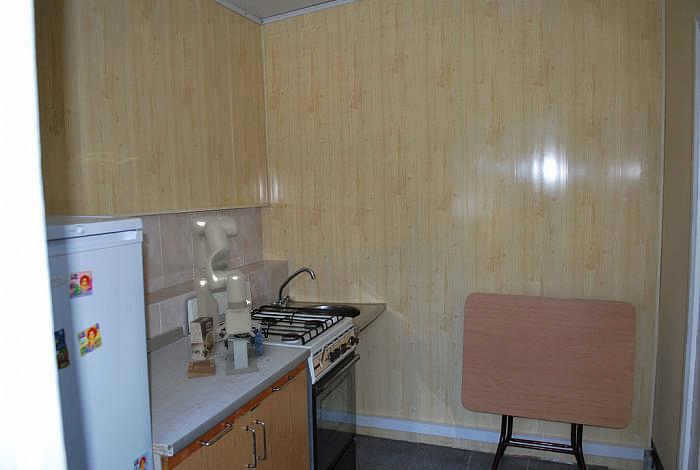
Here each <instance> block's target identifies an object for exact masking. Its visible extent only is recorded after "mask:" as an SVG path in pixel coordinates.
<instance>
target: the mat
mask: <svg viewBox="0 0 700 470" xmlns="http://www.w3.org/2000/svg"><path fill="white" fill-rule="evenodd" d="M256 372H259V369H258V363H257V358H256V357H255V358H249V359H248V368H241V369H235V361H234V360H233V361H226V362H225V376H226V377H227V376H235V375H243V374H248V373H256Z"/></svg>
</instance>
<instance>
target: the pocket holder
mask: <svg viewBox="0 0 700 470" xmlns="http://www.w3.org/2000/svg"><path fill="white" fill-rule="evenodd" d="M215 361H216V359H215V358H213V359H206V360H195V361H189V363H188V367H187V379H188V380H189V379H196V378H202V377H204V378H205V377H210V376H215V375H216V374H215V373H216V362H215Z"/></svg>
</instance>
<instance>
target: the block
mask: <svg viewBox="0 0 700 470" xmlns="http://www.w3.org/2000/svg"><path fill="white" fill-rule="evenodd" d="M232 341H233V359H234V360H233V361H235V369H241V368H248V346H247V345H248V344H247V339H246V338H244V339H243V338H242V339H234V340H232Z"/></svg>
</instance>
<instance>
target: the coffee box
mask: <svg viewBox="0 0 700 470" xmlns="http://www.w3.org/2000/svg"><path fill="white" fill-rule="evenodd" d="M189 332H190V347H191V350H190V351H191V359H192V360H193V361H194V360H195V361H204V360H208V359H210V358H211V356H213V355H214V354H216V345H215V344H216V343H215V341H214V327H213V317H200V318H198V317H197V318H196V319H194V320H192V321H190V322H189Z"/></svg>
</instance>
